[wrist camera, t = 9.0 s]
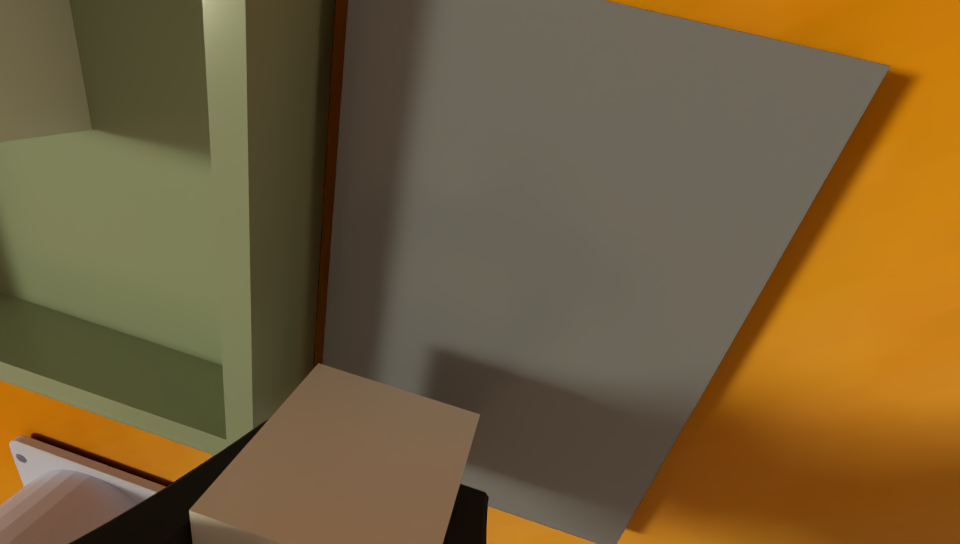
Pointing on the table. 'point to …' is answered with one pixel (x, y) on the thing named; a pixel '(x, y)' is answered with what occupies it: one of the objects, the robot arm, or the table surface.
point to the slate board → (567, 225)
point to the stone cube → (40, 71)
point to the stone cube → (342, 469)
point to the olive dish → (174, 218)
